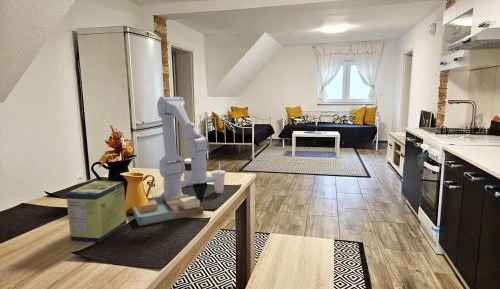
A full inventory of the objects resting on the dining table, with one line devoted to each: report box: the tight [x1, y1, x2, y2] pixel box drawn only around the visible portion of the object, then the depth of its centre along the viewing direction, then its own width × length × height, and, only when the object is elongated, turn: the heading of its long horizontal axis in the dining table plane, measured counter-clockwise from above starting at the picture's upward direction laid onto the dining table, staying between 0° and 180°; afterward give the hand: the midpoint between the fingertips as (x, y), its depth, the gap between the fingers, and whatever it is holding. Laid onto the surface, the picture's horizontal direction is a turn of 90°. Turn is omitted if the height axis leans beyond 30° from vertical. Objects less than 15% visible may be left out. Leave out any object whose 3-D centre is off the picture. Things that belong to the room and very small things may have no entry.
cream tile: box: [180, 195, 201, 209], centre depth 123 cm, size 6×6×2 cm
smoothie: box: [211, 162, 226, 194], centre depth 145 cm, size 6×6×14 cm
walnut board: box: [163, 193, 204, 220], centre depth 126 cm, size 20×10×2 cm, turn 28°
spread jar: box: [183, 157, 192, 181], centre depth 164 cm, size 12×11×12 cm
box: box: [133, 195, 176, 227], centre depth 121 cm, size 20×13×3 cm, turn 28°
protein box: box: [65, 179, 128, 243], centre depth 104 cm, size 10×16×16 cm
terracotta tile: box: [141, 200, 158, 213], centre depth 124 cm, size 6×6×2 cm
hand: (200, 201), depth 125 cm, fingers closed
